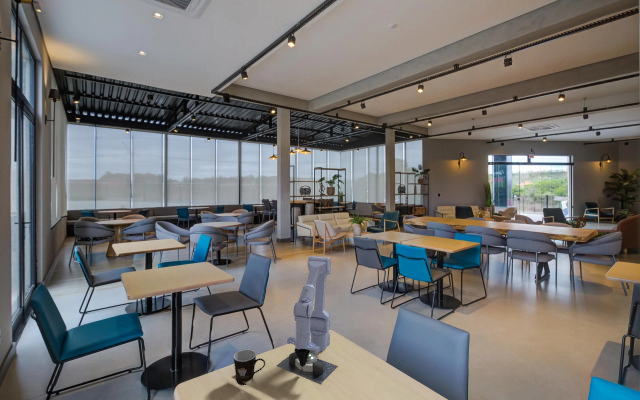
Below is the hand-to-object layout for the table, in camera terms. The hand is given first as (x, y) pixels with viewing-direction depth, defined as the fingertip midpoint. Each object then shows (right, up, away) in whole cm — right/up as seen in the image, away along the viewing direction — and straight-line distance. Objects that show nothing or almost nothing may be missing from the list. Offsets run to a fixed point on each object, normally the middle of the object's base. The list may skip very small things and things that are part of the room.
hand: (302, 365), depth 121 cm
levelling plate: (+1, -5, +5) cm, 7 cm away
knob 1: (-3, -3, +6) cm, 7 cm away
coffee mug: (-21, -5, -3) cm, 22 cm away
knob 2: (+4, -3, +1) cm, 5 cm away
